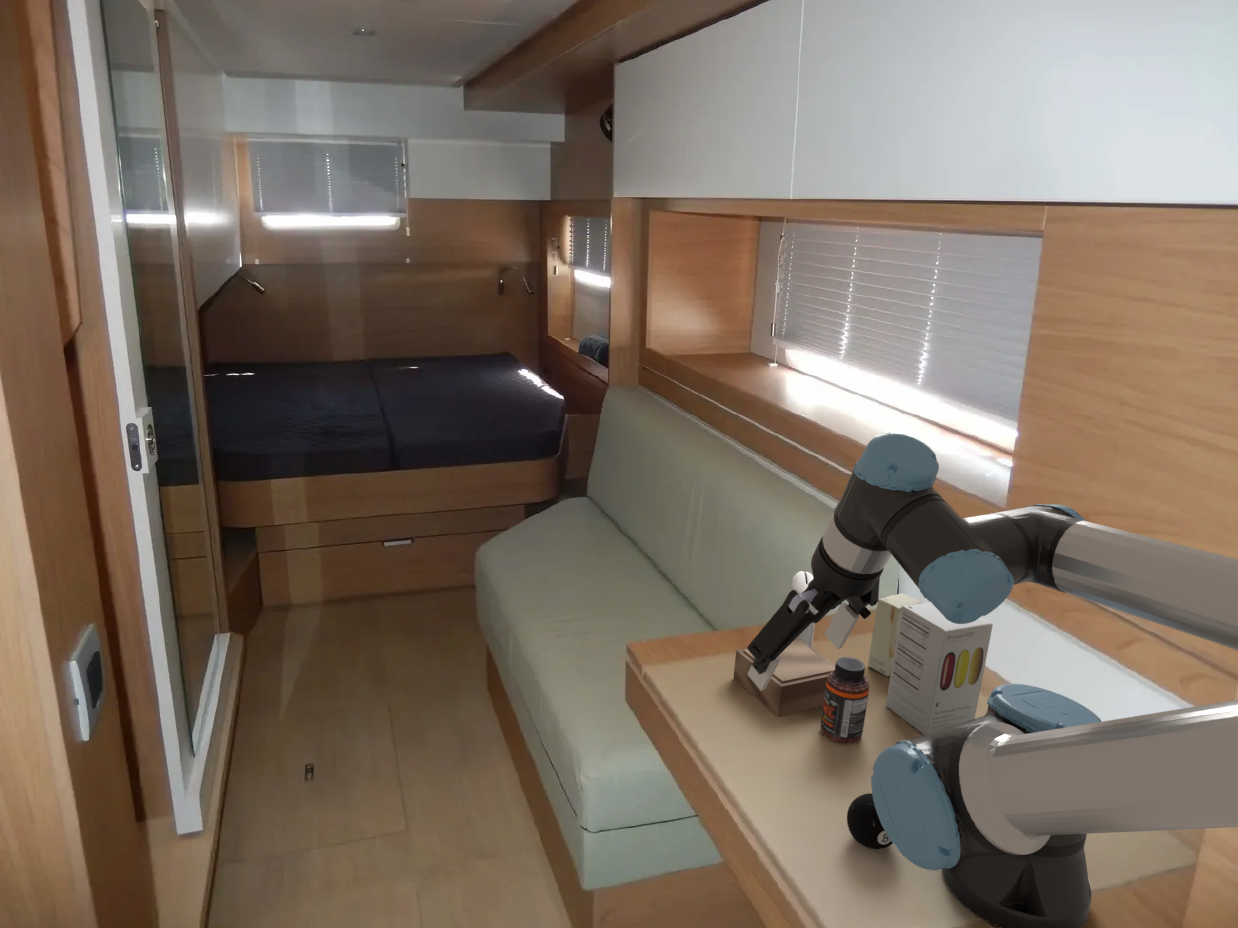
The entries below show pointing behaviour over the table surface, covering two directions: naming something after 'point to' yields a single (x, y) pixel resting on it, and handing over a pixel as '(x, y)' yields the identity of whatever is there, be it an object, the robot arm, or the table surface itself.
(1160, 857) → the table surface
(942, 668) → the supplement box
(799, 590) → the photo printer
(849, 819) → the billiard ball
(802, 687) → the wooden box
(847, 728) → the supplement bottle
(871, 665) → the skincare box
